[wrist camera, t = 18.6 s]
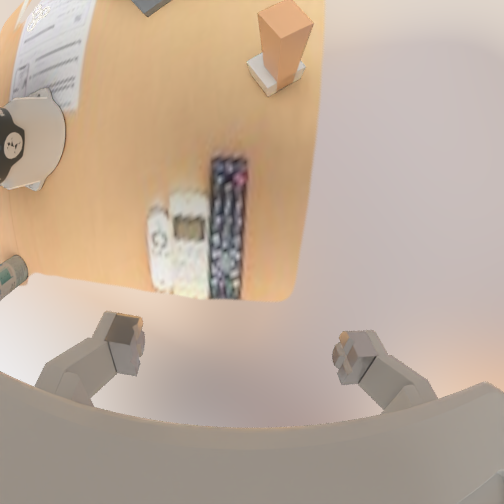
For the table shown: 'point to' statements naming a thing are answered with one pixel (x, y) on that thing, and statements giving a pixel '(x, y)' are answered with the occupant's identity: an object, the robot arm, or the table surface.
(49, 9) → the fidget spinner
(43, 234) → the table surface
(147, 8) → the stand
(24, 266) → the spray paint can
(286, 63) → the bar
